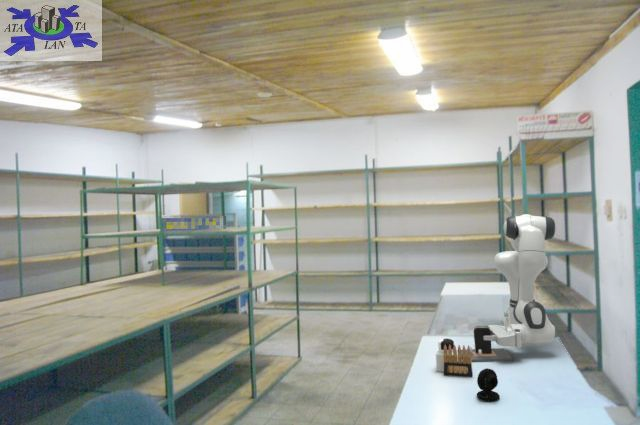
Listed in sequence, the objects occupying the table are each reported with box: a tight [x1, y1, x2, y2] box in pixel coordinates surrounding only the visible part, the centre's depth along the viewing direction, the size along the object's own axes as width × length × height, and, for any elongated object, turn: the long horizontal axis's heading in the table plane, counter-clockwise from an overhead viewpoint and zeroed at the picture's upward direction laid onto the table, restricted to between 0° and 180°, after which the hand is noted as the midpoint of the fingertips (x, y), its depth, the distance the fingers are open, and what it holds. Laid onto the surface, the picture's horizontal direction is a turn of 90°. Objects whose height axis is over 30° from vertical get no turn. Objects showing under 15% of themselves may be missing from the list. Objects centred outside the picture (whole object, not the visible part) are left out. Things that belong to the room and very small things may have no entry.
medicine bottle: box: [435, 338, 458, 373], centre depth 202 cm, size 7×7×12 cm
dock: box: [456, 346, 514, 363], centre depth 215 cm, size 14×20×4 cm
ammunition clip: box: [443, 344, 474, 378], centre depth 195 cm, size 11×2×12 cm, turn 70°
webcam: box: [476, 368, 500, 403], centre depth 172 cm, size 8×8×10 cm
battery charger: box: [473, 325, 493, 353], centre depth 216 cm, size 7×4×11 cm, turn 73°
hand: (481, 335), depth 215 cm, fingers open, 6 cm apart
